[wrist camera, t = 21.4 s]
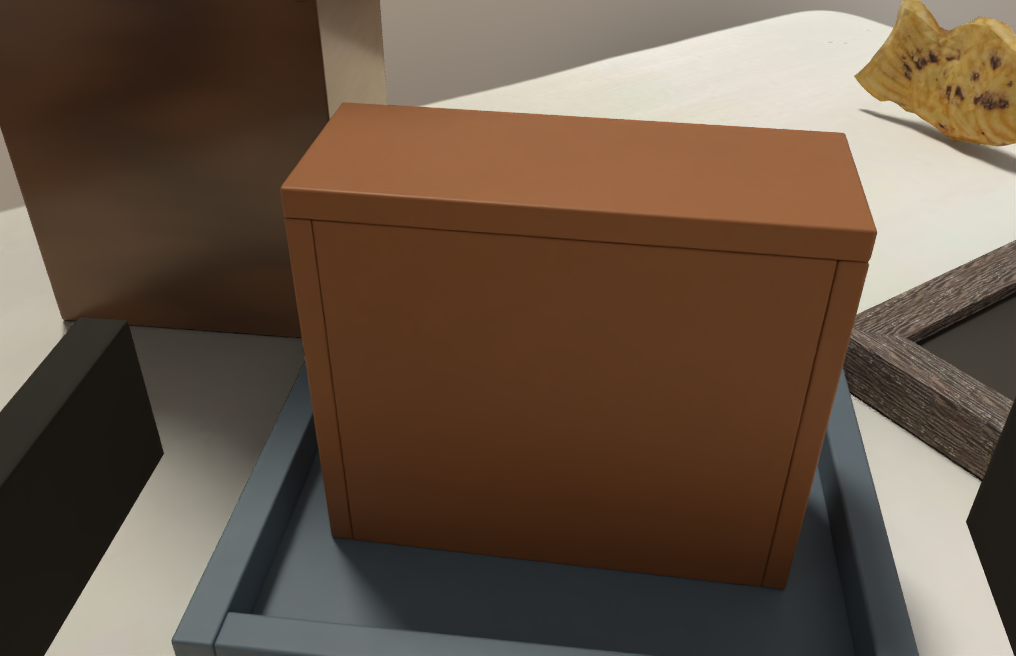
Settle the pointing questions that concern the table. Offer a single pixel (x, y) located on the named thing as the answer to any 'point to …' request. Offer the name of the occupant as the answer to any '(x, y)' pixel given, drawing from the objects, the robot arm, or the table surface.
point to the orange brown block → (575, 332)
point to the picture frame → (944, 358)
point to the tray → (532, 580)
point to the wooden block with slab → (175, 146)
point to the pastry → (949, 75)
